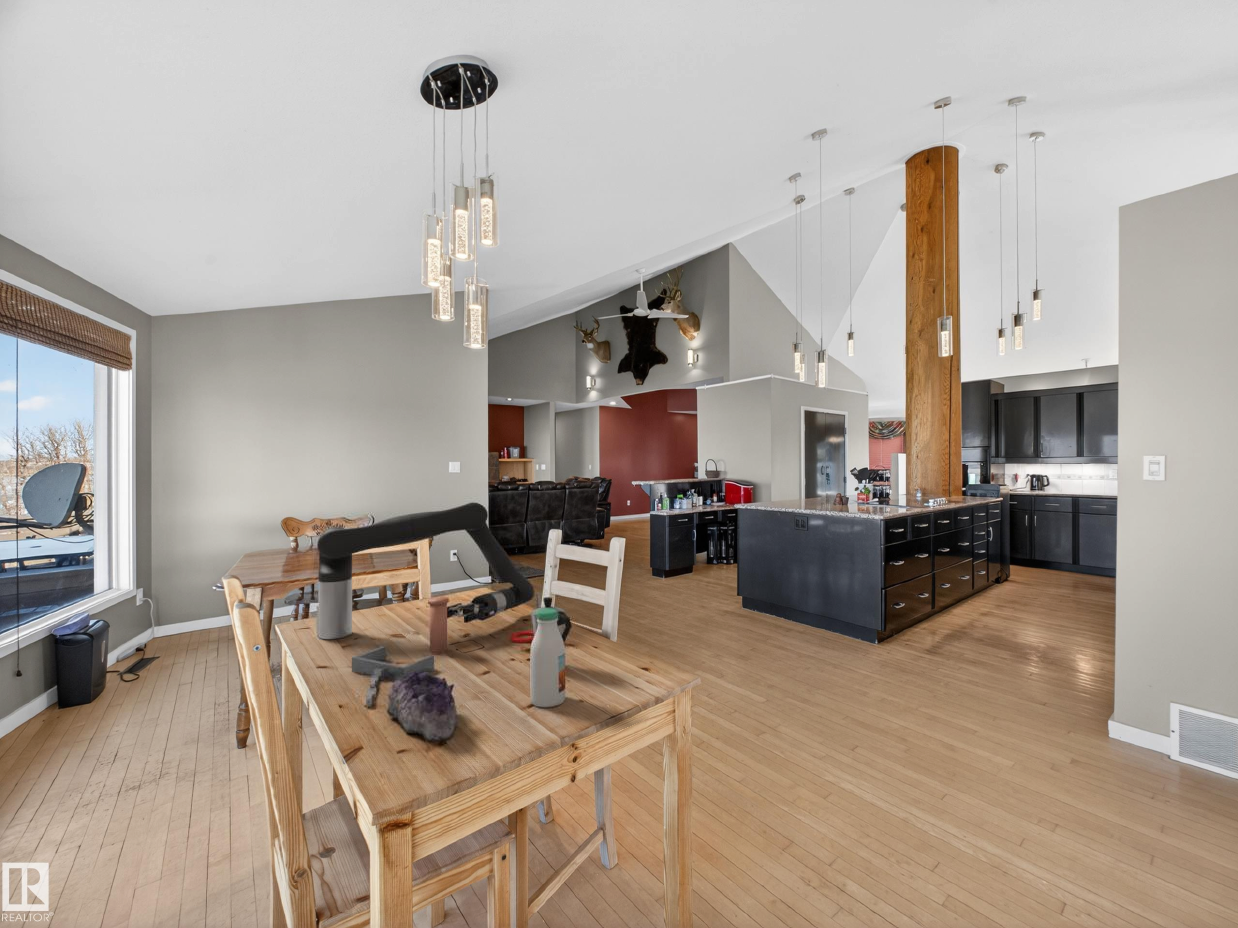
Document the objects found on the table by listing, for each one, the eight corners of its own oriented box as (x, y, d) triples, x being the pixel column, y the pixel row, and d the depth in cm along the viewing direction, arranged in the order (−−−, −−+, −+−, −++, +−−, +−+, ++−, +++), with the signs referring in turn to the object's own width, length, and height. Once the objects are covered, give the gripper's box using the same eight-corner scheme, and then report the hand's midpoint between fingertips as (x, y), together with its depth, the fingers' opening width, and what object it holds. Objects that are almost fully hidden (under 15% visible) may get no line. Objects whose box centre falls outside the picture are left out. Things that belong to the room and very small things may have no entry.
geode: (480, 729, 109) (474, 682, 108) (424, 758, 101) (417, 707, 100) (435, 694, 124) (430, 652, 122) (383, 717, 116) (377, 673, 115)
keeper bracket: (347, 673, 138) (347, 659, 139) (383, 659, 149) (383, 646, 149) (399, 684, 131) (399, 670, 131) (434, 669, 141) (434, 655, 141)
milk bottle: (550, 711, 116) (550, 617, 116) (522, 703, 120) (522, 612, 120) (572, 698, 123) (571, 609, 123) (545, 691, 127) (545, 604, 127)
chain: (364, 707, 118) (364, 699, 118) (371, 679, 134) (371, 672, 134) (373, 706, 119) (373, 698, 119) (379, 678, 135) (379, 671, 135)
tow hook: (506, 644, 162) (540, 643, 161) (504, 597, 162) (537, 596, 161) (514, 635, 171) (546, 634, 170) (512, 590, 171) (543, 589, 170)
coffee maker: (519, 665, 143) (519, 596, 143) (545, 657, 149) (545, 591, 149) (556, 680, 133) (556, 606, 133) (583, 670, 139) (583, 599, 139)
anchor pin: (423, 652, 153) (423, 600, 153) (438, 646, 158) (438, 596, 158) (438, 655, 151) (438, 602, 151) (453, 649, 156) (453, 598, 156)
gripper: (471, 591, 178) (434, 602, 163) (507, 595, 172) (472, 607, 157) (471, 614, 178) (434, 627, 163) (507, 619, 172) (472, 633, 157)
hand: (453, 617), depth 160 cm, fingers open, 8 cm apart
